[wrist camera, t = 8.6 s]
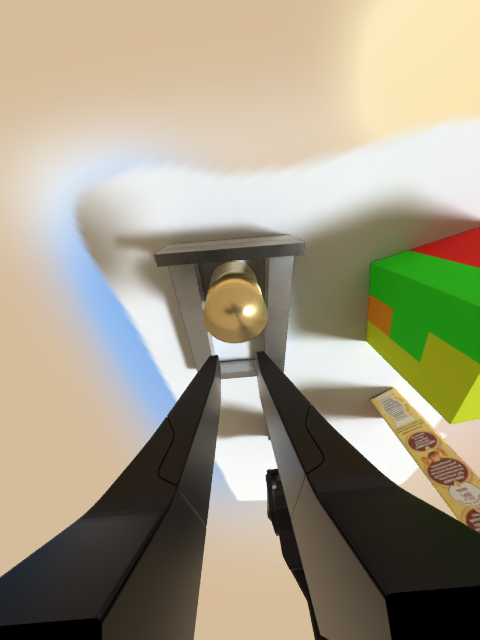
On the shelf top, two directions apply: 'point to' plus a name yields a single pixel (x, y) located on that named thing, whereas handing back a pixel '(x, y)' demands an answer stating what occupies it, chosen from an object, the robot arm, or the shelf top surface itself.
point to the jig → (192, 300)
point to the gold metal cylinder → (234, 304)
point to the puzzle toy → (432, 321)
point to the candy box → (433, 457)
